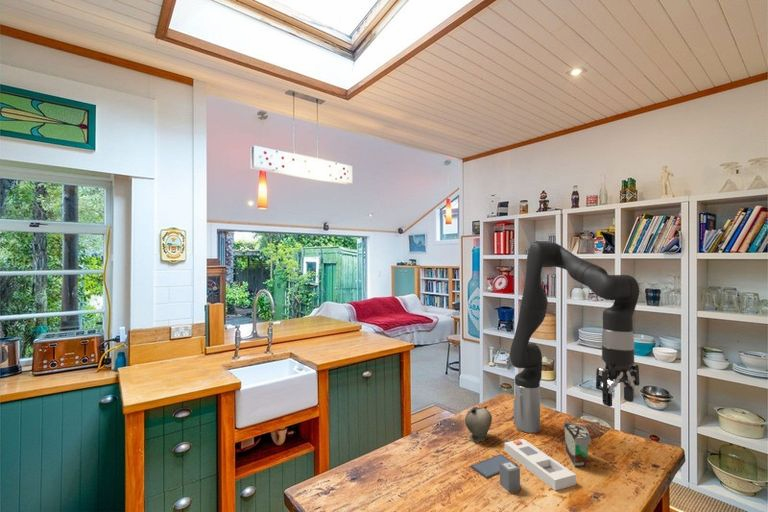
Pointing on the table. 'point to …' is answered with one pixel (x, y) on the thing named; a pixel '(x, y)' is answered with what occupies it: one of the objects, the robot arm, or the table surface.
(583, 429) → the food container
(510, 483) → the block
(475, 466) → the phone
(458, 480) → the table surface
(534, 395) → the robot arm
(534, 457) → the power strip
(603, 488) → the table surface
